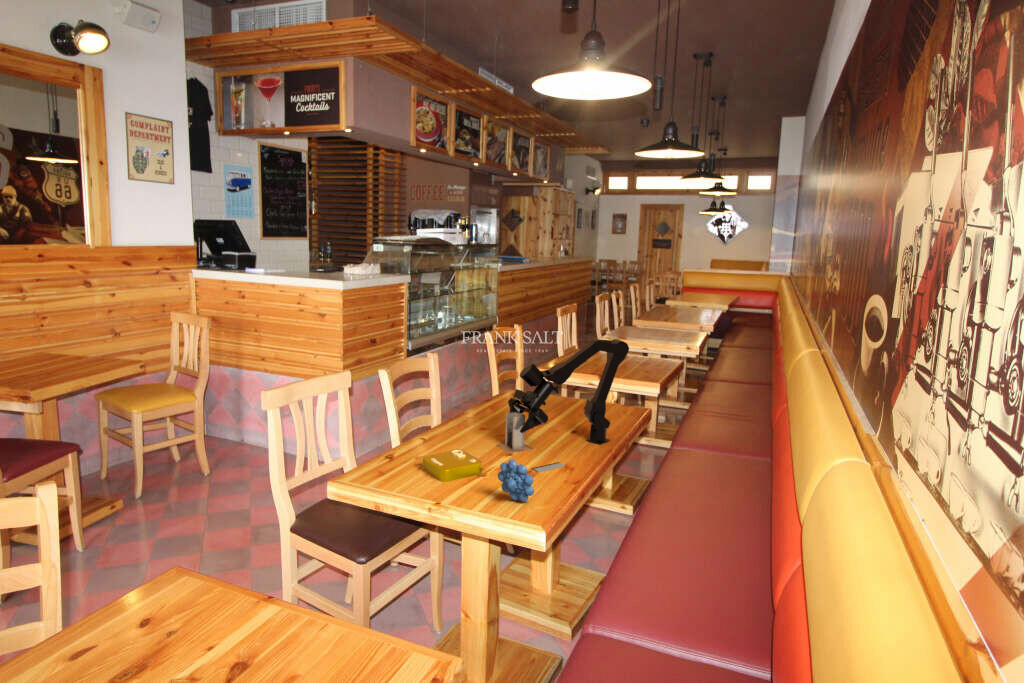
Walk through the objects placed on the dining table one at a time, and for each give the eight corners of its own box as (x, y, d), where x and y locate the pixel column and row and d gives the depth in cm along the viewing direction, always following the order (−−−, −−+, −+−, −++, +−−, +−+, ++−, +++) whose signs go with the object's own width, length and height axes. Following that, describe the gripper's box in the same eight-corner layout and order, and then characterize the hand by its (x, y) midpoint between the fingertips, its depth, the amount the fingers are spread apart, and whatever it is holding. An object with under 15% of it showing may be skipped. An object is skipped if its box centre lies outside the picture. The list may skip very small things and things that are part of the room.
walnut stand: (518, 443, 225) (518, 430, 224) (534, 451, 217) (534, 437, 216) (495, 447, 219) (495, 434, 219) (510, 456, 211) (510, 442, 210)
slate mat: (545, 456, 212) (545, 455, 212) (564, 466, 203) (564, 465, 203) (518, 461, 206) (518, 460, 206) (537, 472, 197) (538, 471, 197)
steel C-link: (515, 443, 221) (516, 411, 219) (524, 448, 217) (525, 415, 215) (505, 445, 219) (505, 413, 217) (513, 450, 214) (514, 417, 212)
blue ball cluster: (490, 501, 174) (490, 461, 172) (501, 493, 180) (502, 454, 178) (526, 510, 169) (527, 469, 167) (537, 501, 175) (538, 461, 173)
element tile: (420, 469, 199) (420, 455, 198) (460, 460, 207) (460, 446, 206) (443, 484, 187) (443, 469, 186) (484, 474, 195) (484, 460, 194)
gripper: (512, 376, 224) (486, 408, 220) (542, 386, 209) (515, 422, 205) (529, 394, 230) (504, 426, 226) (560, 406, 215) (533, 441, 210)
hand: (513, 428), depth 217 cm, fingers open, 9 cm apart
